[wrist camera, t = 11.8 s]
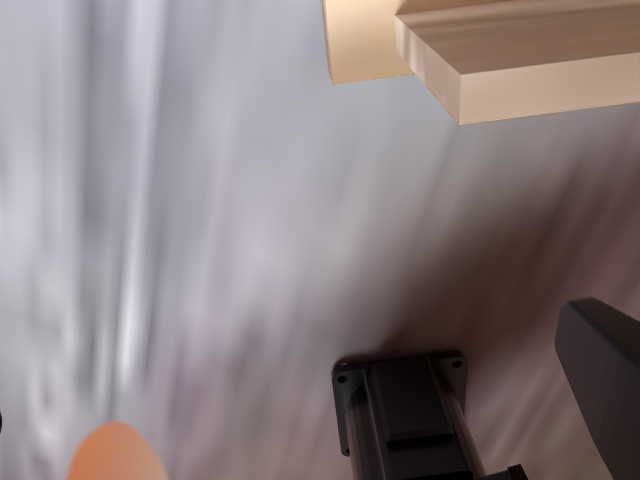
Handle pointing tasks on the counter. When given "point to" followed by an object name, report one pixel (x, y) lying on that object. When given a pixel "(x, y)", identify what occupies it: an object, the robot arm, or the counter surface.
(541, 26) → the gauge base
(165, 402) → the counter surface
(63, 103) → the counter surface
